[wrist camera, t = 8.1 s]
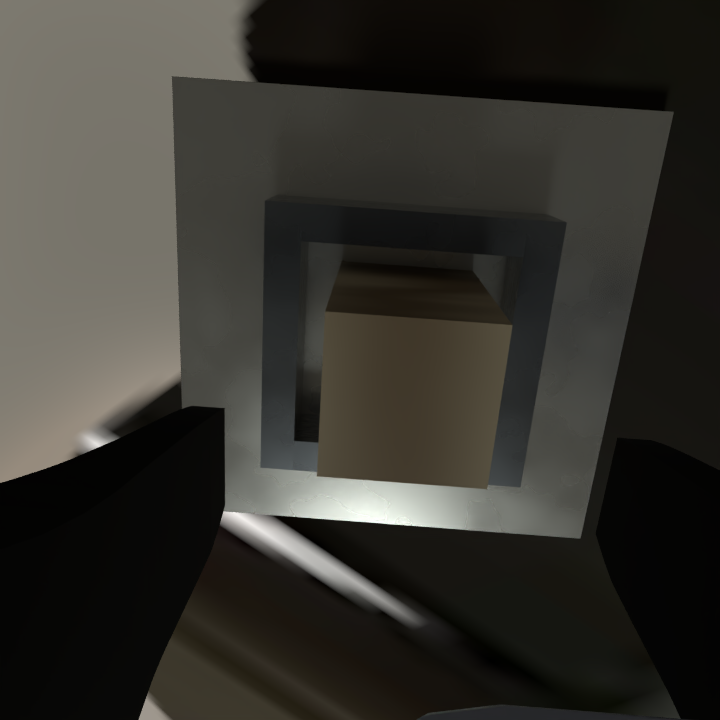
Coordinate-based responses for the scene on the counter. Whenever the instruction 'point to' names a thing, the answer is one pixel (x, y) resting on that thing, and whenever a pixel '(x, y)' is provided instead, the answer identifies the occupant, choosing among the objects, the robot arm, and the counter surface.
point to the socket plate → (407, 248)
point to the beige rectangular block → (411, 376)
